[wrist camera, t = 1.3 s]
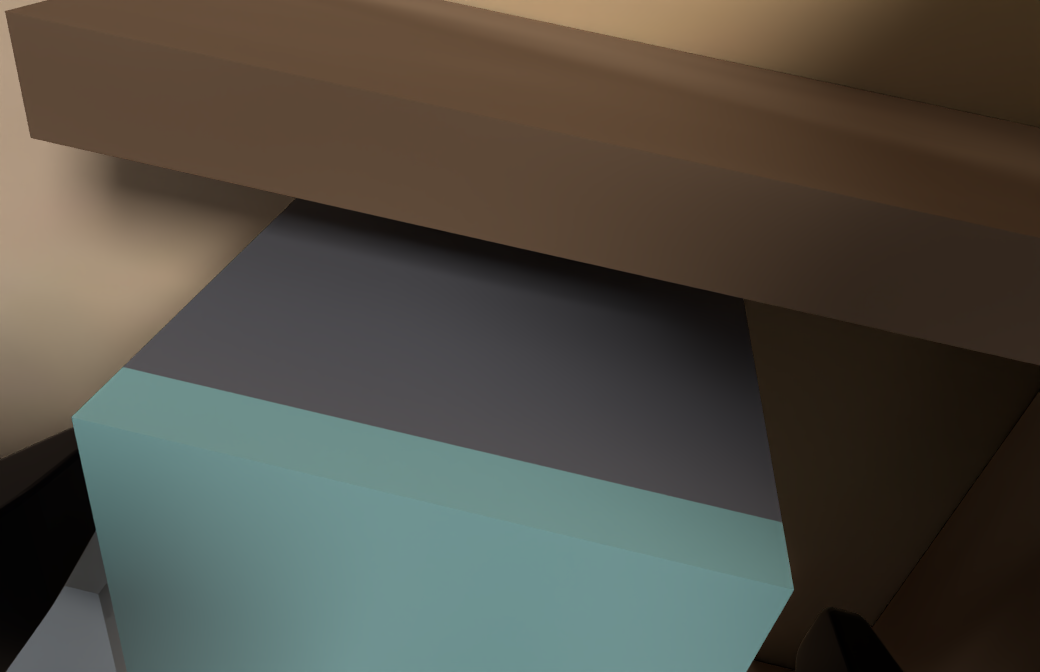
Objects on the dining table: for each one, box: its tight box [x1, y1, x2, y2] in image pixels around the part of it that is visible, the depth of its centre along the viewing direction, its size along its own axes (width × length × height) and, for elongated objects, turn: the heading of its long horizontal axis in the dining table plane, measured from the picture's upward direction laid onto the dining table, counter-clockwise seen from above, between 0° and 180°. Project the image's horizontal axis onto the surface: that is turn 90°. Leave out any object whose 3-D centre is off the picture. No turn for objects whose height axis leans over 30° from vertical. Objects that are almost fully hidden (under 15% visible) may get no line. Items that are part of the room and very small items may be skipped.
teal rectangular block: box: [71, 198, 794, 672], centre depth 9 cm, size 7×5×6 cm
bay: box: [5, 0, 1040, 672], centre depth 10 cm, size 11×12×4 cm
